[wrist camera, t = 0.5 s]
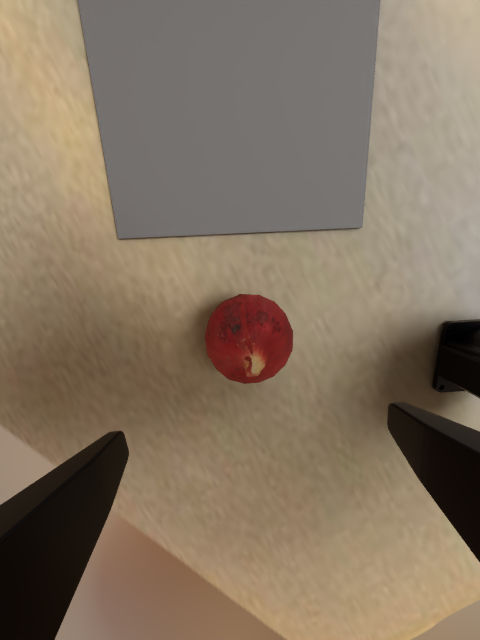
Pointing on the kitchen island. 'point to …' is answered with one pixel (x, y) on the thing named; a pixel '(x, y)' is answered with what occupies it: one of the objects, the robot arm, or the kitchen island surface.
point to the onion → (248, 338)
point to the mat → (233, 112)
